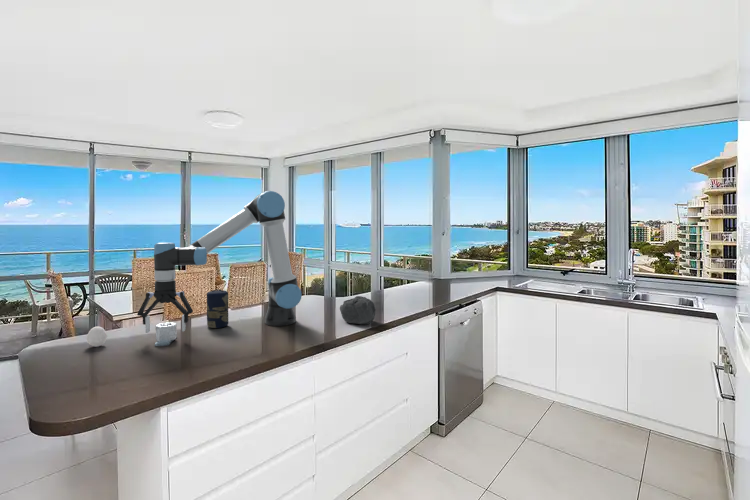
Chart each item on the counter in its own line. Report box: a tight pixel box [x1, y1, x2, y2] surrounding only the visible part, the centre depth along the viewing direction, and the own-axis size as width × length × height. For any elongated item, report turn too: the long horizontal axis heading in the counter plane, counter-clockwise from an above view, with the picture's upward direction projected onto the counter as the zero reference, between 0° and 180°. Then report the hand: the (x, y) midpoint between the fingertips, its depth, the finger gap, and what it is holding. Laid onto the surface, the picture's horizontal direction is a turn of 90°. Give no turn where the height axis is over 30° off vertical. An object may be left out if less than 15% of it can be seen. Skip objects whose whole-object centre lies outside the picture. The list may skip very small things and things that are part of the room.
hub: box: [155, 321, 178, 342], centre depth 155 cm, size 7×7×6 cm
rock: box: [339, 295, 377, 325], centre depth 191 cm, size 22×14×15 cm
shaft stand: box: [154, 324, 174, 347], centre depth 155 cm, size 5×12×7 cm, turn 14°
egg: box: [86, 326, 108, 348], centre depth 147 cm, size 6×6×8 cm
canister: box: [206, 288, 229, 329], centre depth 178 cm, size 10×10×18 cm
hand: (166, 331), depth 155 cm, fingers open, 13 cm apart
